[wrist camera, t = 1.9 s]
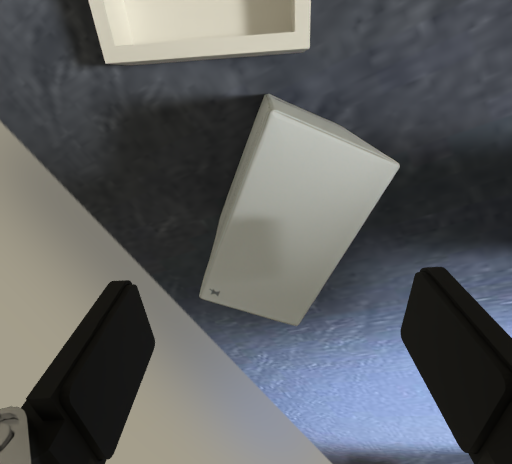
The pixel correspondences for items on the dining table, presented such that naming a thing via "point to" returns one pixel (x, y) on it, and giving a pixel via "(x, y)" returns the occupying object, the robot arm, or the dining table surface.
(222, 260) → the skincare box
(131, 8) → the trough
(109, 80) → the dining table surface
